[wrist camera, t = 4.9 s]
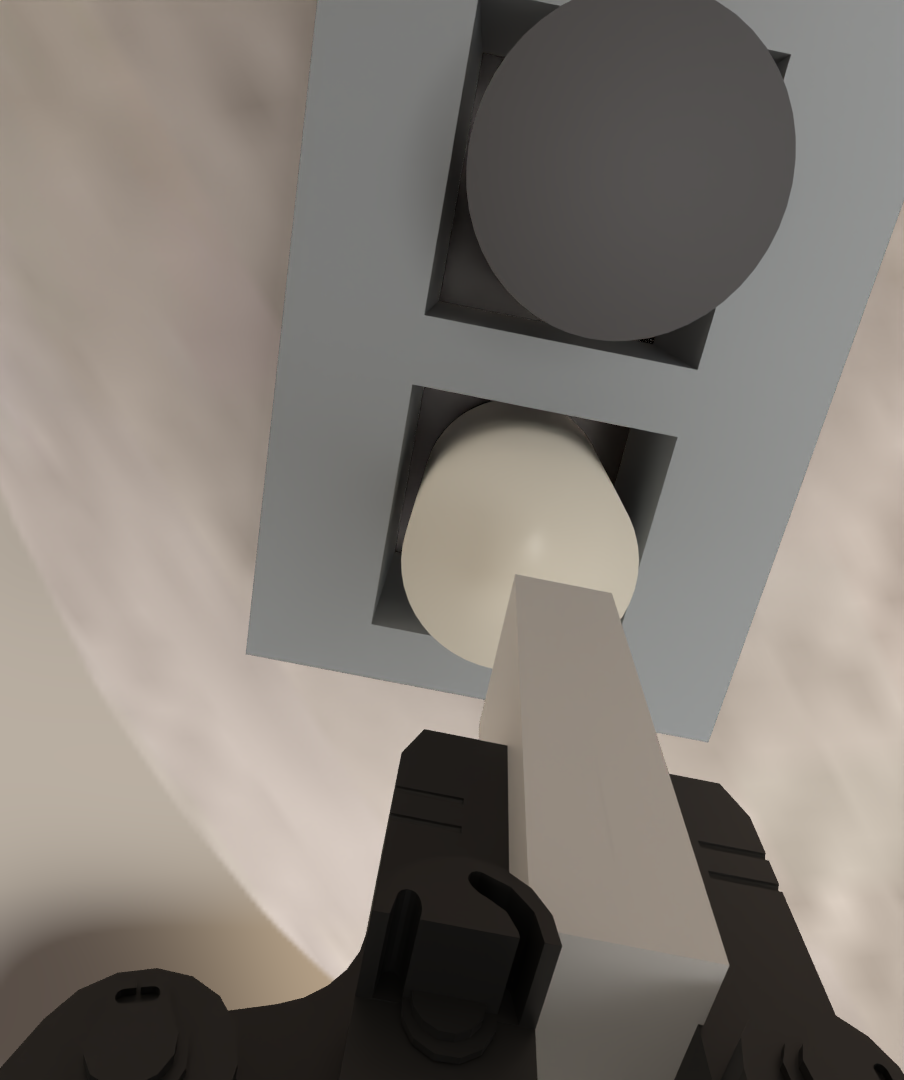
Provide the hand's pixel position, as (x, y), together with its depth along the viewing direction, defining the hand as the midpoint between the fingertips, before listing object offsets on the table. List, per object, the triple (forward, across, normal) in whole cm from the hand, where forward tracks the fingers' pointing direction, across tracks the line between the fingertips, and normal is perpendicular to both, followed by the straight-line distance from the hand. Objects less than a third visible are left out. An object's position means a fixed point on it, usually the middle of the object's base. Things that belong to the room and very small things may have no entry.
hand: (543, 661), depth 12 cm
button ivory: (+11, 0, 0) cm, 11 cm away
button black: (+9, 0, +7) cm, 11 cm away
